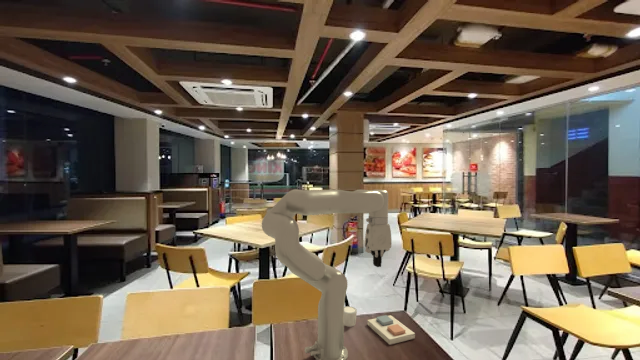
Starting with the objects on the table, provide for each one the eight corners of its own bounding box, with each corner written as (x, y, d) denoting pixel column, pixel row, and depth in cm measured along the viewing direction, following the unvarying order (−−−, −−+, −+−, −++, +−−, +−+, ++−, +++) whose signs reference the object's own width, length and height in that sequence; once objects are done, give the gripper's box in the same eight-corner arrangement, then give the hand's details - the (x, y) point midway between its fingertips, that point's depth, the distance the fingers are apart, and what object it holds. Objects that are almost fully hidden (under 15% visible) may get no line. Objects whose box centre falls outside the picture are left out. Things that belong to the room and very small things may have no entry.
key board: (389, 347, 115) (389, 339, 115) (367, 326, 130) (367, 319, 130) (414, 340, 120) (414, 333, 120) (390, 321, 135) (390, 315, 135)
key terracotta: (394, 338, 118) (394, 332, 118) (387, 332, 123) (387, 326, 123) (405, 336, 120) (405, 330, 120) (397, 329, 125) (397, 324, 124)
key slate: (383, 328, 125) (383, 322, 125) (376, 322, 130) (376, 317, 130) (393, 326, 127) (393, 320, 127) (386, 320, 132) (386, 315, 132)
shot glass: (355, 330, 127) (356, 314, 127) (339, 328, 128) (340, 312, 128) (357, 322, 134) (357, 306, 134) (341, 320, 135) (342, 305, 135)
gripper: (367, 223, 114) (366, 271, 115) (399, 221, 120) (398, 266, 121) (357, 220, 121) (356, 265, 122) (388, 218, 127) (387, 261, 128)
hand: (377, 265), depth 121 cm, fingers closed
